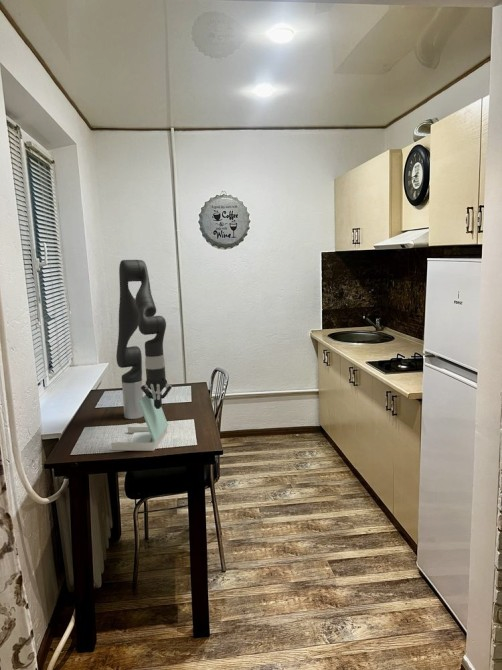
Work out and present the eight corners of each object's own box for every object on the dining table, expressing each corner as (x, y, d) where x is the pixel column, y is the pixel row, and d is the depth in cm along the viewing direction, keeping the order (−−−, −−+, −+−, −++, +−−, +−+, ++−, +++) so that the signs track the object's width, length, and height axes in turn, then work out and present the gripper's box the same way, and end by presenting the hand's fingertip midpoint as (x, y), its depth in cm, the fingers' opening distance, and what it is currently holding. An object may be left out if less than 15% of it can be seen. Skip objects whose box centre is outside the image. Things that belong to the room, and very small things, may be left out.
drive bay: (128, 432, 208) (128, 425, 208) (167, 432, 206) (167, 426, 206) (111, 450, 190) (111, 442, 189) (153, 450, 188) (153, 443, 187)
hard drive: (149, 442, 193) (153, 431, 206) (128, 443, 193) (133, 432, 205) (149, 446, 194) (153, 435, 206) (128, 447, 193) (133, 436, 205)
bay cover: (152, 388, 203) (154, 388, 203) (166, 425, 205) (168, 425, 205) (138, 401, 185) (139, 401, 185) (153, 442, 188) (155, 441, 187)
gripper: (174, 363, 195) (176, 405, 198) (142, 364, 196) (145, 405, 199) (168, 368, 188) (171, 411, 190) (135, 368, 189) (139, 411, 192)
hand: (158, 408), depth 195 cm, fingers closed
